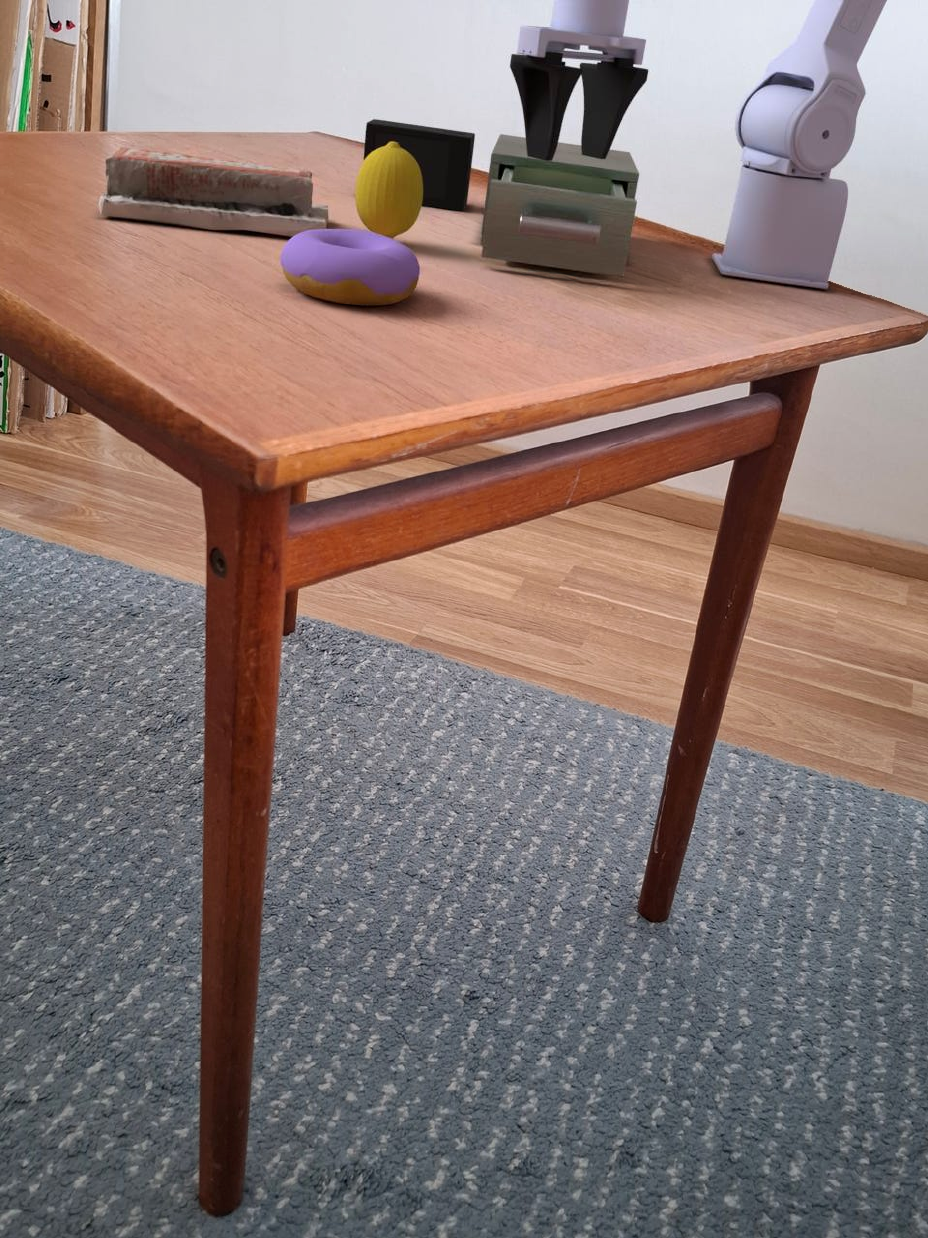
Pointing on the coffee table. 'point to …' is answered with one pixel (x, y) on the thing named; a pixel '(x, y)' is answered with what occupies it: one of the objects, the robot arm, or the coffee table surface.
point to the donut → (350, 266)
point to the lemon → (389, 191)
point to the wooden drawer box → (562, 165)
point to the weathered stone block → (209, 193)
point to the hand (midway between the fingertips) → (567, 157)
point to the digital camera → (430, 158)
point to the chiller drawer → (559, 221)
